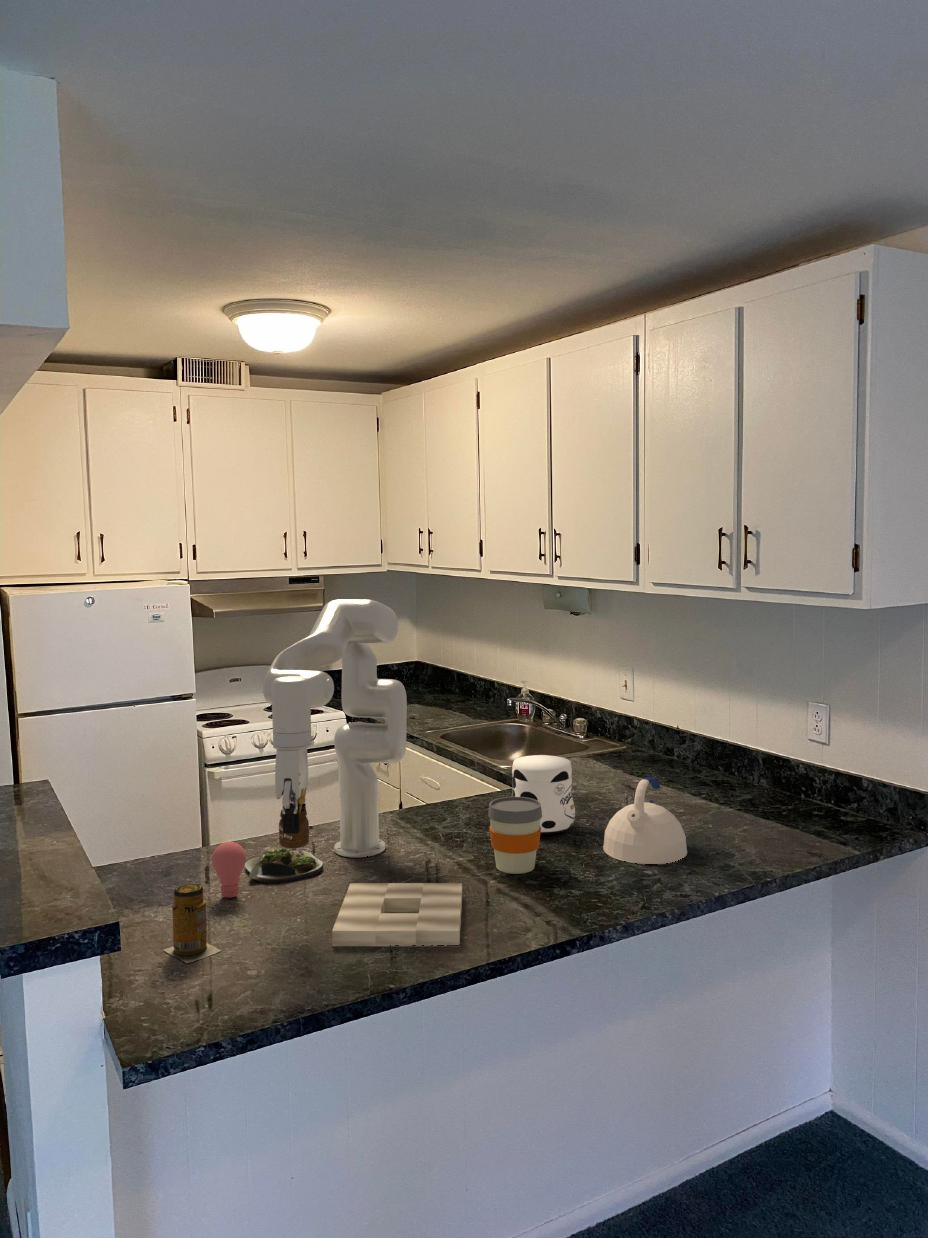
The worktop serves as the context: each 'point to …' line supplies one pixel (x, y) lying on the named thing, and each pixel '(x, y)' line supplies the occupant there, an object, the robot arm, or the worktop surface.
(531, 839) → the reusable coffee cup
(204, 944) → the condiment
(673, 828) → the kettle
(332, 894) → the worktop surface
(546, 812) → the milk container
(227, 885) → the light bulb
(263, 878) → the salad plate
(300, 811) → the utensil holder
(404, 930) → the socket board
